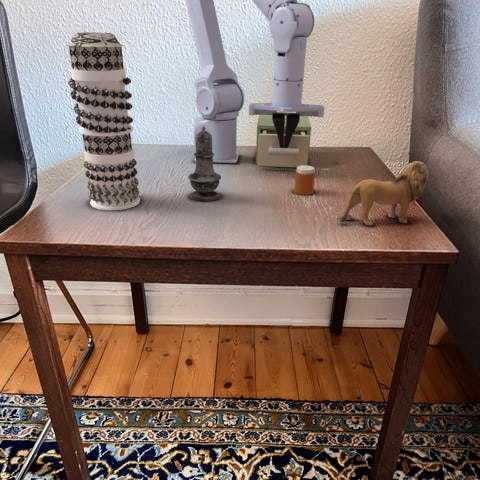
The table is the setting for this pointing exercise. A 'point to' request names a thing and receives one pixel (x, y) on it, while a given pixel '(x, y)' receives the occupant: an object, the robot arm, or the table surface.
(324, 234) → the table surface
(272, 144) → the drawer
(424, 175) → the lion figurine
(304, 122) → the cabinet
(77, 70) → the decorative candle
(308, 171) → the spice bottle
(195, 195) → the stone fountain
